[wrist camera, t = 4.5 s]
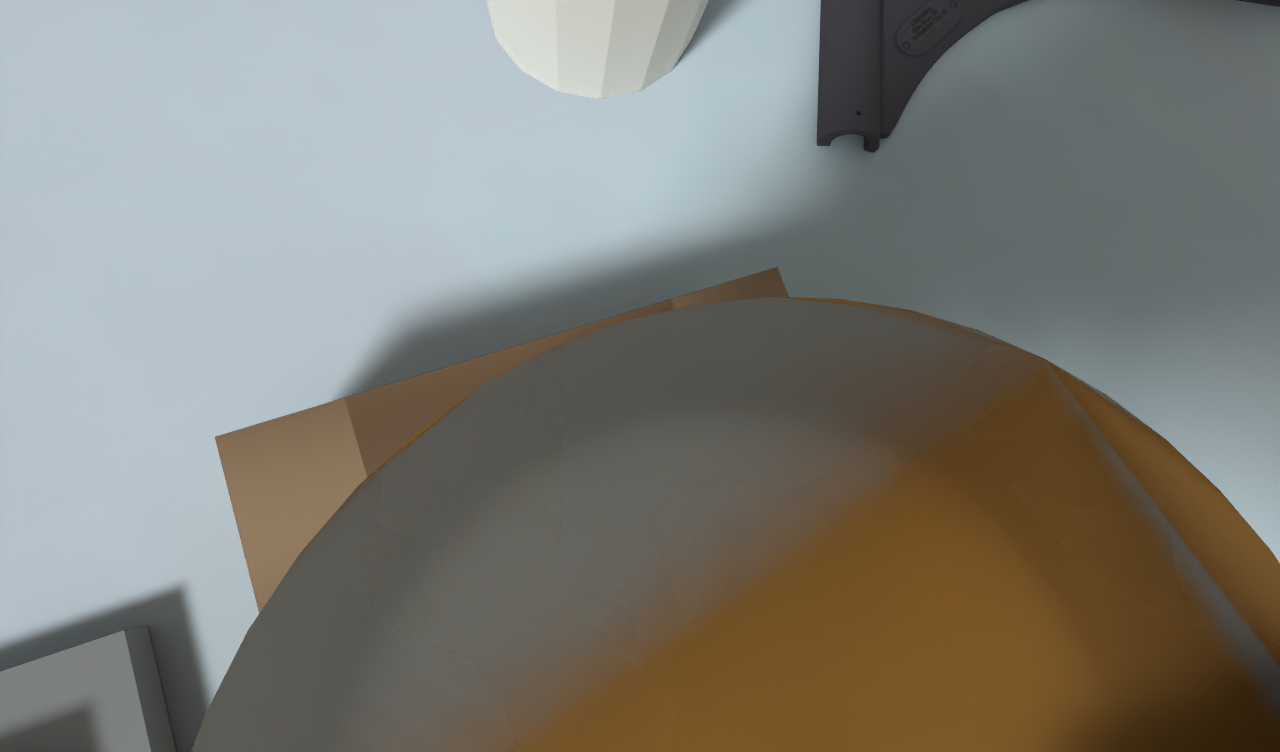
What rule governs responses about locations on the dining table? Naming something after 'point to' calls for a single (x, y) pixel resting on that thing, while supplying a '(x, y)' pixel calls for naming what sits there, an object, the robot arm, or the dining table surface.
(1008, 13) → the dining table surface
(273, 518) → the socket block
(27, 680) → the tray
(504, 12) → the white cylinder
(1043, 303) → the dining table surface
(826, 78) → the bracket
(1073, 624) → the gold-topped cylinder
